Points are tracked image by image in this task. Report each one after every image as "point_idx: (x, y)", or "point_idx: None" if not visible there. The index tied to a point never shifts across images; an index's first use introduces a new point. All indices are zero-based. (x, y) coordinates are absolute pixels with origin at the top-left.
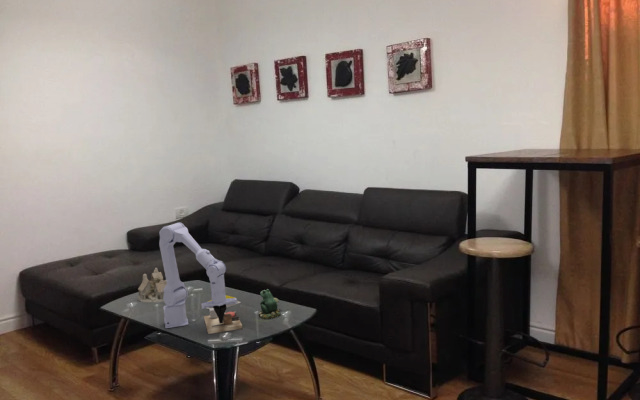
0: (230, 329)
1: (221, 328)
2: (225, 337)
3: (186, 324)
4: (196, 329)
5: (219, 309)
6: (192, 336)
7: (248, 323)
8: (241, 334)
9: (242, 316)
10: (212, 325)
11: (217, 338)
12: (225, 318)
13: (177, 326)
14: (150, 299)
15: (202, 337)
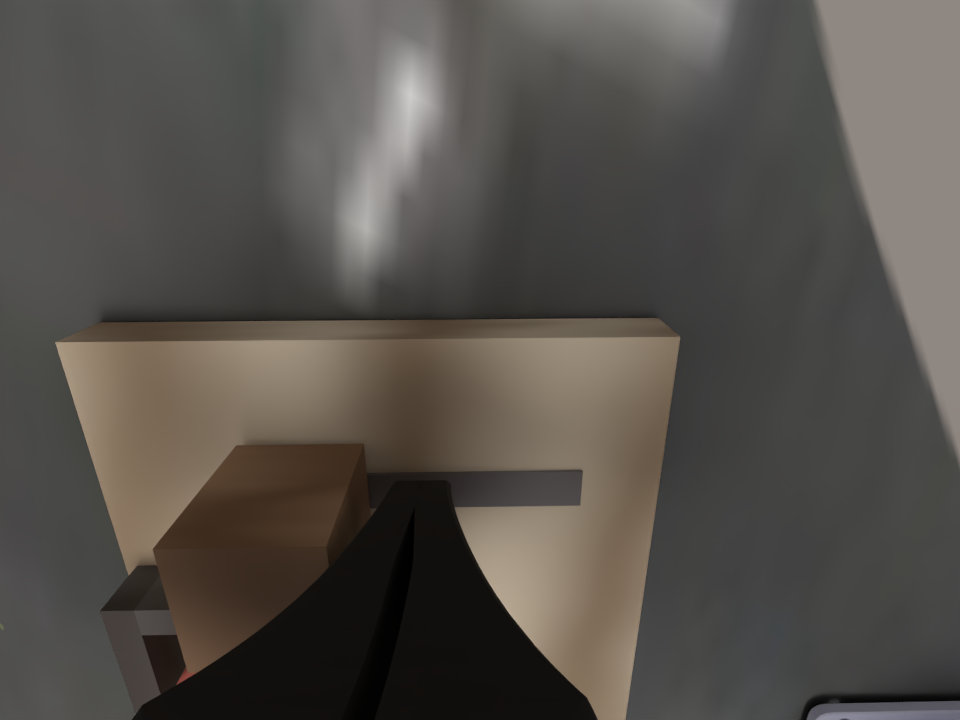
0: (291, 324)
1: (437, 339)
2: (399, 9)
3: (839, 710)
4: (761, 551)
5: (397, 718)
6: (897, 328)
7: (22, 480)
8: (85, 26)
9: None
10: (563, 519)
11: (550, 30)
12: (314, 517)
13: (940, 701)
14: None
15: (777, 213)
